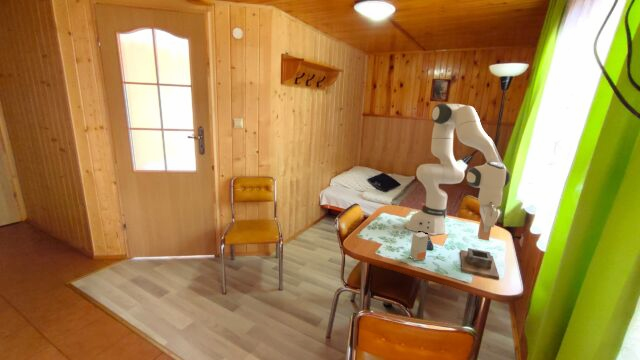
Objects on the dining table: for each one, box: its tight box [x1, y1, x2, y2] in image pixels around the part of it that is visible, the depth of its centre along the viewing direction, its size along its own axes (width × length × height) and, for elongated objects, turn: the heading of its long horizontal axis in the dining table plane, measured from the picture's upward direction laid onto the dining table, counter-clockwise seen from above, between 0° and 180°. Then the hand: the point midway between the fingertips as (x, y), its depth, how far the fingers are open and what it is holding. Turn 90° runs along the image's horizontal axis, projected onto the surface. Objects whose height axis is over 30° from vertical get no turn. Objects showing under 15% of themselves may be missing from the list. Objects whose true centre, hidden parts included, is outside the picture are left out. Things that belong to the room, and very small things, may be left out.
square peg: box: [477, 218, 492, 242], centre depth 132 cm, size 4×4×8 cm
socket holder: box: [459, 247, 500, 280], centre depth 136 cm, size 14×20×5 cm
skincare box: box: [409, 232, 430, 261], centre depth 139 cm, size 6×4×12 cm
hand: (484, 229), depth 132 cm, fingers closed on square peg, 4 cm apart
